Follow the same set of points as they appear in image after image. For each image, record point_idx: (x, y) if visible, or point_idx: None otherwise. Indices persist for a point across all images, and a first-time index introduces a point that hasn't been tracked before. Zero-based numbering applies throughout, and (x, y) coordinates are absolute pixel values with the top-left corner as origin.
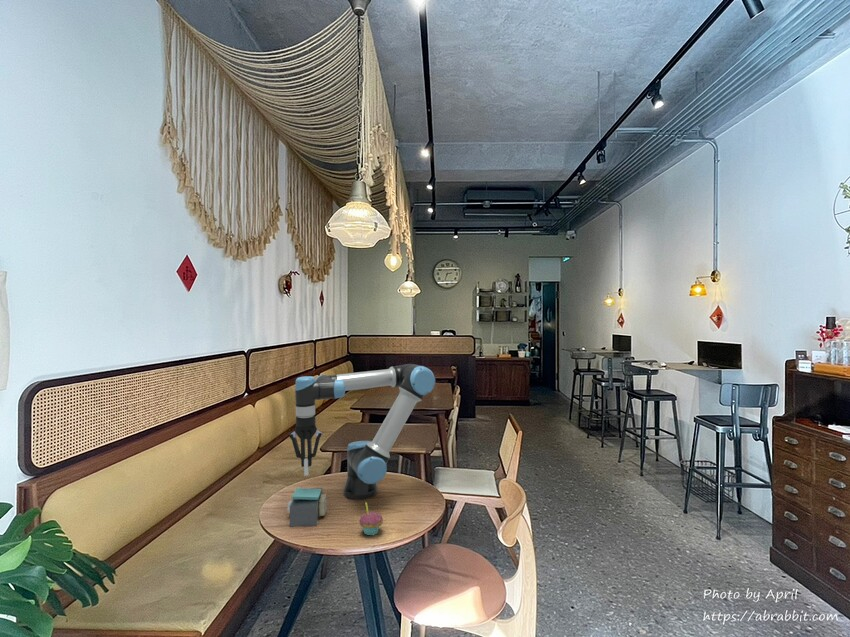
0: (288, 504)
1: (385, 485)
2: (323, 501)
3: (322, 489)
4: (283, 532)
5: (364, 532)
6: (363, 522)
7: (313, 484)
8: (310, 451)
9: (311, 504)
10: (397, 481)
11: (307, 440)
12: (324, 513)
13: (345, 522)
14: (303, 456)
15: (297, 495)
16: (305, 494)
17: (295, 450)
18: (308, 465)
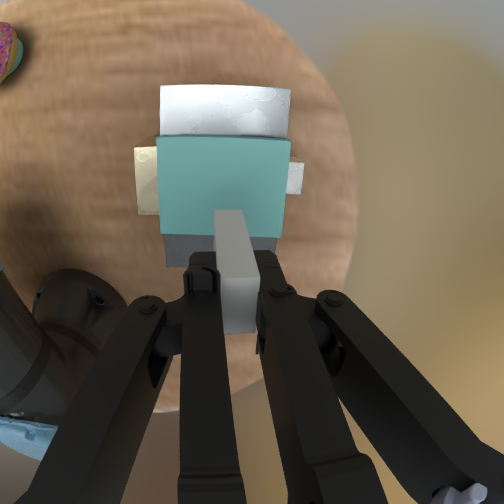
0: (299, 162)
1: None
2: (139, 147)
3: (167, 260)
4: (288, 56)
5: (20, 43)
6: (1, 25)
7: (236, 367)
8: (184, 345)
9: (186, 93)
10: None
11: (236, 501)
12: (147, 138)
13: (77, 112)
14: (270, 299)
15: (266, 153)
16: (226, 167)
17: (385, 345)
18: (213, 256)
